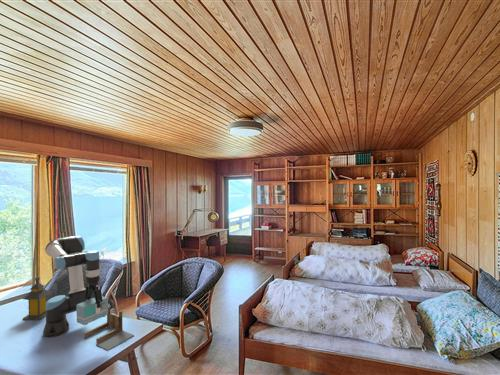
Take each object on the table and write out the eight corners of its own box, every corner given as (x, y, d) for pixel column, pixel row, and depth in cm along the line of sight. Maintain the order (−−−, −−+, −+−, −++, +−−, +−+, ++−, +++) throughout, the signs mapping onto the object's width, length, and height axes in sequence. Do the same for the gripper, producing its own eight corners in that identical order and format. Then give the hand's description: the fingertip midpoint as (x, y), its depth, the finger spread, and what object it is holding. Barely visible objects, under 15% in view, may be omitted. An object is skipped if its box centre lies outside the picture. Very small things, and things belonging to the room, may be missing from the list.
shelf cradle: (84, 337, 187) (83, 316, 186) (109, 325, 202) (108, 306, 202) (97, 343, 179) (97, 322, 179) (122, 330, 195) (122, 311, 195)
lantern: (40, 320, 209) (39, 280, 208) (21, 320, 210) (20, 280, 209) (53, 311, 223) (52, 274, 223) (36, 311, 224) (35, 274, 223)
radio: (84, 327, 168) (84, 294, 168) (76, 323, 173) (75, 291, 172) (109, 316, 182) (108, 285, 182) (101, 313, 186) (100, 283, 186)
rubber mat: (96, 345, 178) (96, 344, 178) (122, 331, 194) (122, 330, 194) (107, 351, 172) (107, 350, 172) (133, 335, 189) (133, 335, 189)
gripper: (77, 274, 180) (78, 309, 180) (96, 280, 169) (97, 317, 169) (89, 271, 186) (90, 305, 186) (108, 276, 175) (109, 312, 175)
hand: (93, 310), depth 178 cm, fingers closed on radio, 9 cm apart
